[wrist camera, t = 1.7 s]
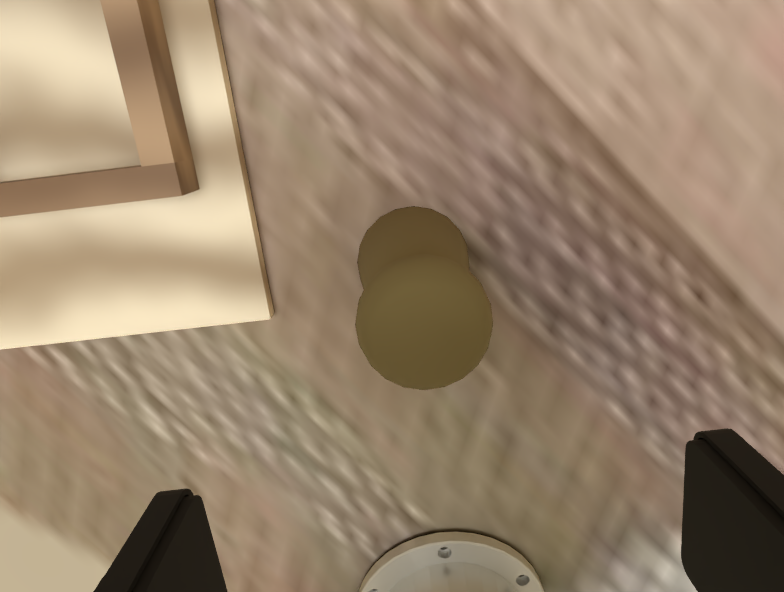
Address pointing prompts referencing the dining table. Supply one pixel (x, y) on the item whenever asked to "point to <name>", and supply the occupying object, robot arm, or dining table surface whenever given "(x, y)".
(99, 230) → the socket stand
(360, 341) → the cork
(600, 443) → the dining table surface
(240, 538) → the dining table surface
